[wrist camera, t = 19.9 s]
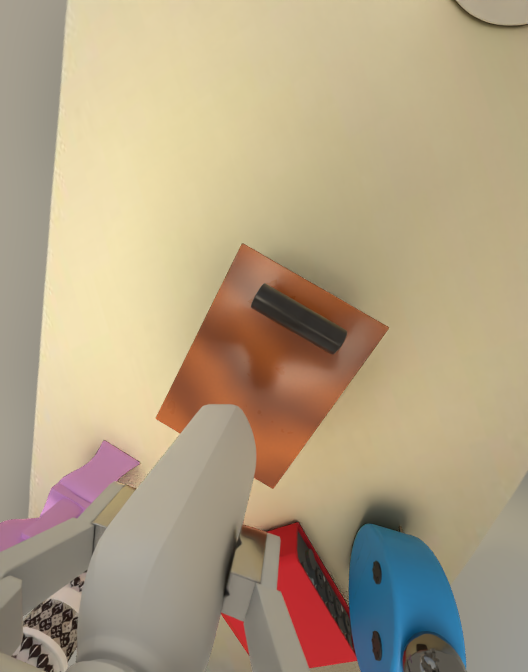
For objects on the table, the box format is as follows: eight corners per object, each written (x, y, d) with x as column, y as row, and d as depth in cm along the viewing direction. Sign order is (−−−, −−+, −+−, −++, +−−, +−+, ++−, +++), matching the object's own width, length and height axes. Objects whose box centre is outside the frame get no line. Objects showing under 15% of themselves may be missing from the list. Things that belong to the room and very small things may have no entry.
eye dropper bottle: (176, 465, 15) (-307, 1172, 3) (210, 387, 13) (-450, 1156, 2) (242, 499, 14) (-1, 1394, 3) (284, 424, 13) (145, 1591, 1)
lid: (244, 244, 19) (225, 231, 14) (386, 325, 19) (415, 340, 14) (159, 414, 23) (123, 448, 19) (274, 482, 23) (267, 534, 18)
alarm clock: (384, 583, 34) (444, 801, 20) (340, 569, 35) (367, 771, 21) (415, 509, 31) (514, 705, 17) (366, 495, 32) (420, 673, 17)
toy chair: (80, 477, 39) (-53, 593, 24) (98, 436, 36) (-37, 538, 22) (124, 505, 38) (18, 639, 24) (145, 465, 36) (42, 588, 22)
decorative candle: (120, 581, 42) (-121, 980, 18) (76, 550, 42) (-224, 908, 18) (144, 552, 40) (-95, 964, 16) (98, 518, 40) (-212, 881, 16)
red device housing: (352, 613, 36) (360, 664, 32) (268, 630, 40) (264, 678, 35) (296, 519, 34) (295, 557, 29) (213, 544, 38) (200, 583, 33)
